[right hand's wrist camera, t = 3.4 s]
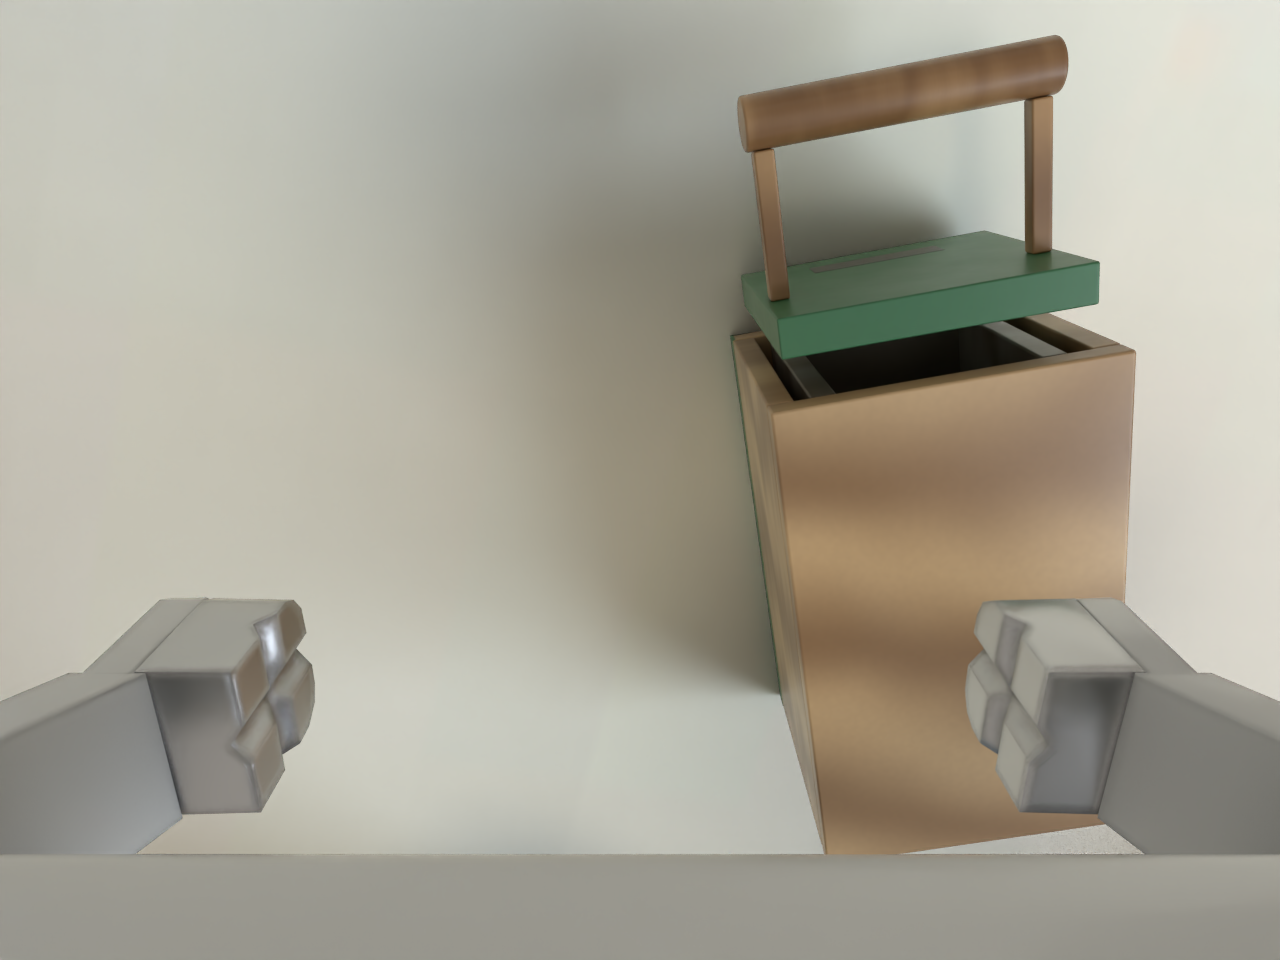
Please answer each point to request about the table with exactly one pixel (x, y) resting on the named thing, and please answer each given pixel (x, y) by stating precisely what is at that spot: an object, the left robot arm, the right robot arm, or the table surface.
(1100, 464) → the tan storage bin
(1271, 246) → the table surface
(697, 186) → the table surface
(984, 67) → the drawer
